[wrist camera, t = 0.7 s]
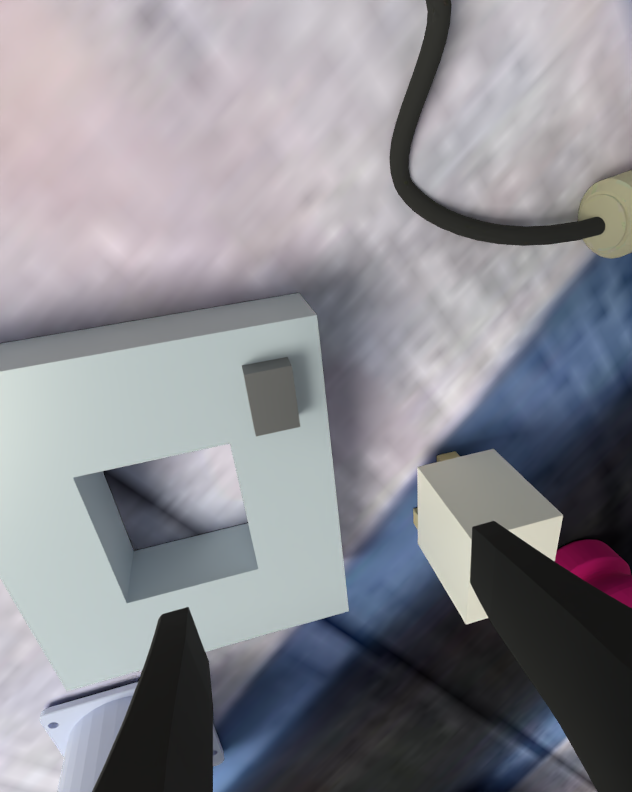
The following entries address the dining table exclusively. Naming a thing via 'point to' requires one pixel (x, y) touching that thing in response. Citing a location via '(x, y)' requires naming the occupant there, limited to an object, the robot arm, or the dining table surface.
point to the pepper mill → (598, 567)
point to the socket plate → (154, 439)
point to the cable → (597, 223)
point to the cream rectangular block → (476, 517)
